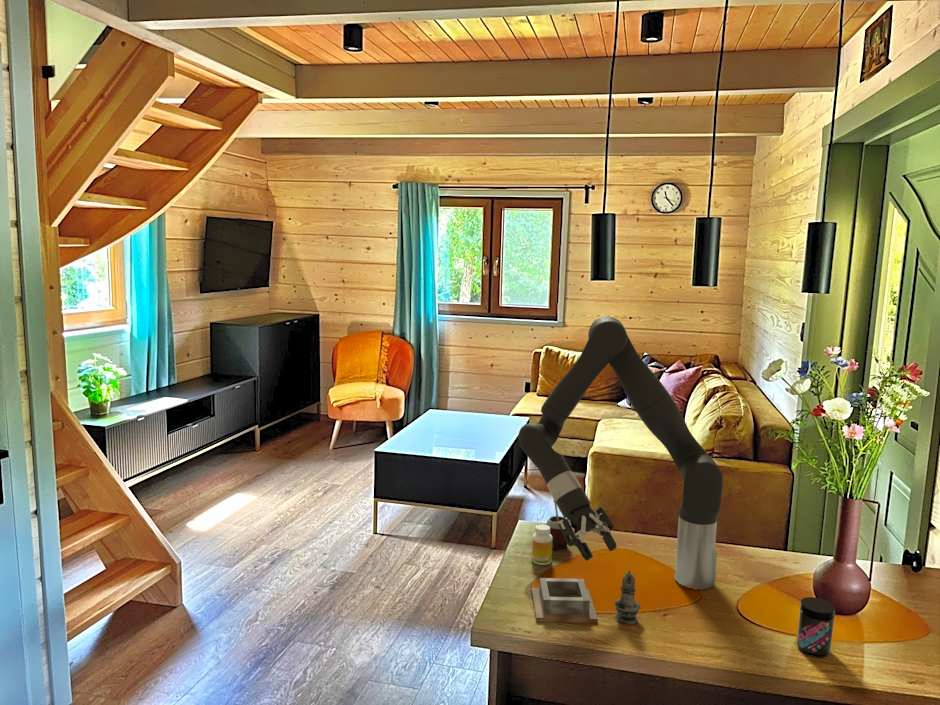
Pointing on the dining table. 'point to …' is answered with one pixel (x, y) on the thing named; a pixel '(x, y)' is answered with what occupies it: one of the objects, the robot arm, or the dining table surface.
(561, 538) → the mate gourd
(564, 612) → the block
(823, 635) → the supplement container
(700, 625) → the dining table surface
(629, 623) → the grey tall ringed piece
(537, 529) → the supplement bottle
